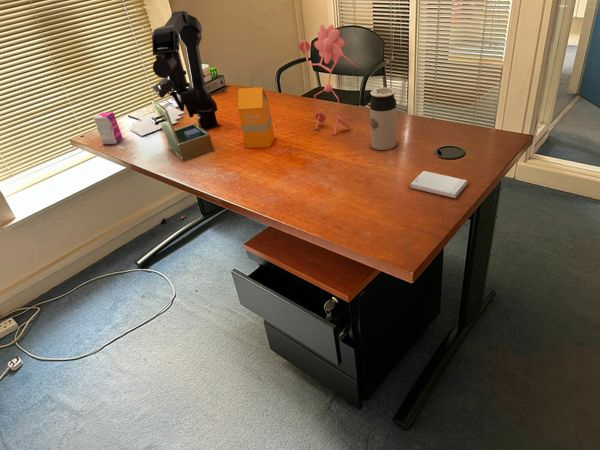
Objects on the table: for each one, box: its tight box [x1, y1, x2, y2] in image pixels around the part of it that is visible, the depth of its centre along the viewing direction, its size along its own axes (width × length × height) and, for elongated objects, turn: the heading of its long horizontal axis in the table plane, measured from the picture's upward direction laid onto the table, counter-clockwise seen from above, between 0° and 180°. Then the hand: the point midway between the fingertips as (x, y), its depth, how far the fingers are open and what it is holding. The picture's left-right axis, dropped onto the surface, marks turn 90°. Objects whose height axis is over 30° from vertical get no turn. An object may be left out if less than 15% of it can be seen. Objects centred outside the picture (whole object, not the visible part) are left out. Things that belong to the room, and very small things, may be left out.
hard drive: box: [410, 170, 468, 199], centre depth 119 cm, size 2×8×12 cm
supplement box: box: [93, 111, 124, 146], centre depth 174 cm, size 6×6×12 cm
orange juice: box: [237, 86, 275, 149], centre depth 153 cm, size 8×9×20 cm
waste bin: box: [165, 123, 214, 162], centre depth 160 cm, size 12×15×6 cm
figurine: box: [298, 24, 359, 139], centre depth 153 cm, size 15×26×35 cm, turn 45°
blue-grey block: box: [184, 128, 201, 141], centre depth 160 cm, size 5×5×6 cm
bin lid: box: [151, 99, 179, 144], centre depth 151 cm, size 12×15×4 cm
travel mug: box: [369, 86, 397, 151], centre depth 139 cm, size 8×8×18 cm
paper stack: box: [128, 106, 186, 137], centre depth 191 cm, size 23×25×1 cm
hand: (187, 114), depth 155 cm, fingers open, 9 cm apart
